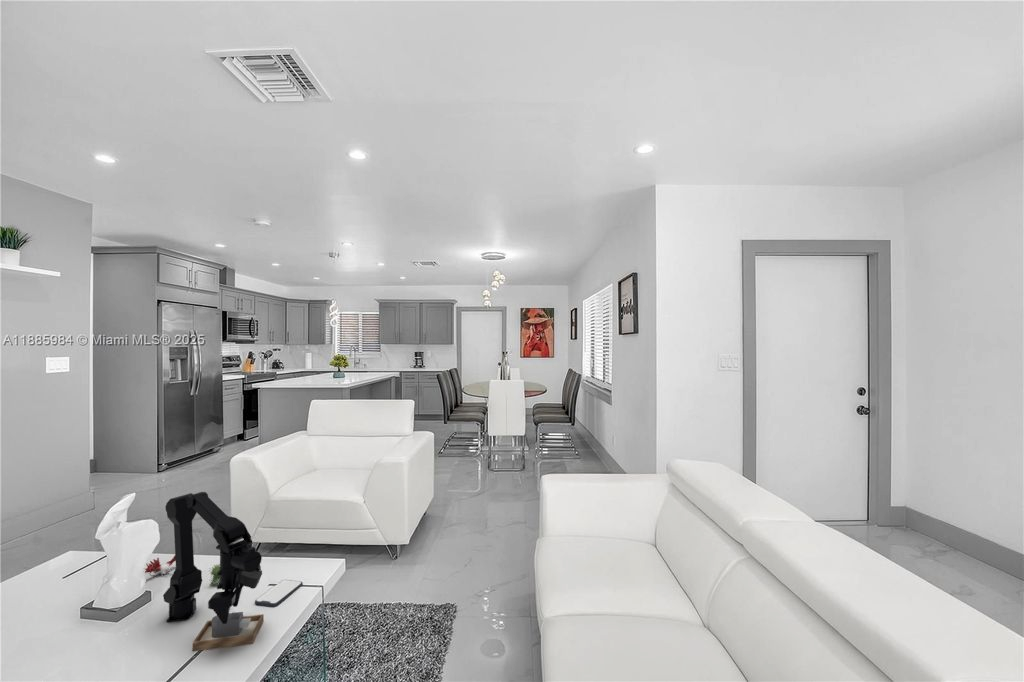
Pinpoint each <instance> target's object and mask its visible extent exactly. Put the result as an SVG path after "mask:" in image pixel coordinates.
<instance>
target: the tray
mask: <svg viewBox="0 0 1024 682" xmlns="http://www.w3.org/2000/svg"><path fill="white" fill-rule="evenodd" d="M264 615H265V614H255V615H246V616H244V615H243V619H244V618H251V623H250V624H249V626H248V627H245V628H242V630H241V632H240V634H239V635H238V636H229V637H221V638H212V619H211V620H207V621H206V622H205V624H204V625H203V627H202V628H201V629H200V631H199V633H198V635H197V636H196V637H195V639H194V640H193V642H192V647H191V648H192V652H197V651H204V650H212V649H221V648H229V647H236V646H243V645H244V646H245V645H252V644H254V642H255V640H256V638H257V636H258V634H259V632H260V630H261V628H262V625H263V623H264Z"/></svg>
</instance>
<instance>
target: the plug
mask: <svg viewBox="0 0 1024 682" xmlns="http://www.w3.org/2000/svg"><path fill="white" fill-rule="evenodd" d="M243 617H244V611H239V612H229V616H228V621H227V623H226V624H223V623H222V622H221V620H220V619H219V617H218V616H217V615H215V616H213V617H212V618H211V620H212V638H221V637H229V636H238V635H239V634H240V632H241V630H242V628H245V627H248V626H249V624H250V623H251V618H244V619H243Z"/></svg>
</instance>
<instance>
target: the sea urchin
mask: <svg viewBox="0 0 1024 682" xmlns="http://www.w3.org/2000/svg"><path fill="white" fill-rule="evenodd" d="M219 570H220V563H218V564H214V565H213V566H211V569H210V570H206V572H209V573H208V574H207V576H208V575H210V574H211V575H210V576H209V578H210V581H208V582H209V583H208V584H209V586H210V587H213V588H214V587H217V586H218V584H219V583H220V575H219V576H218V571H219ZM201 571H202V570H201ZM202 572H204V571H202ZM206 572H205V573H203V574H206ZM217 582H218V583H217Z"/></svg>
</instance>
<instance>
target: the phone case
mask: <svg viewBox="0 0 1024 682" xmlns="http://www.w3.org/2000/svg"><path fill="white" fill-rule="evenodd" d="M301 587H303V581H301V580H291V579H283V580H280V582H278V583H277V584H276V585H274V586H273V587H272V588H270V589H268V590H267V591H266V592H264V593H263V594H262V595H260V596H259V597H257V598H256V599H255V601H254V605H255V606H257V607H258V606H260V607H267V608H276V607H278V606H279V605H281V604H282V603H283V602H285V600H287V599H288V598H289V597H290V596H292V595H293V594H294V593H296V591H297V590H299V589H300V588H301Z"/></svg>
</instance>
